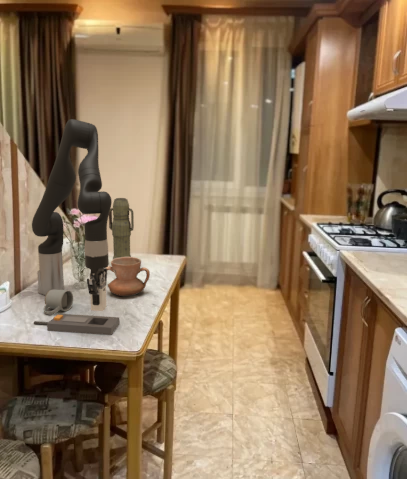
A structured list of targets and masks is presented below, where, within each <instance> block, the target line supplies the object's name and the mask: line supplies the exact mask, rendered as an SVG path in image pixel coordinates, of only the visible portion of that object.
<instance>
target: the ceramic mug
mask: <svg viewBox="0 0 407 479" xmlns="http://www.w3.org/2000/svg"><path fill="white" fill-rule="evenodd" d="M44 296H45V297H44V304H45V305H44V307H43V313H44V314H45V315H48V316H52V315H55V314H58V312H59V311H62V312H67V311H69V310H70V309H71V308H72V306H73V303H74V296H73V292H72V291H71V290H69V289H64V290H50V291H48V292H47V294H46V295H44ZM47 309H50V310H51V311H47Z"/></svg>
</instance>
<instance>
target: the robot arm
mask: <svg viewBox="0 0 407 479" xmlns="http://www.w3.org/2000/svg"><path fill="white" fill-rule="evenodd" d="M61 136H62V137H61V140H60V144H59V148H58V151H57V155H56V158H55V161H54V163H53V164H54V165H53V166H52V169H51V172H50V174H49V178H48V179H47V180H48V181H47V184H46V186H45V189H44V190H45V191H44V192H43V196H42V197H41V201H40V203H39V205H38V206H37V209H36V210H35V213H34V215H33V218H32V221H31V230H32V232H33V234H34V235H35V236H36V237H40V238H41V237H42V238H43V237H44V238H45V237H47V238H46V239H45V240H44V241H43V242H41V243H40V244H38V246H37V249H38V251H37V252H38V268H39V270H37V272H36V274H37V286H38V288H37V289H38V294H39V295H40V294H41V295H43V296H46V294H47V292H48V291H50V290H65V282H64V263H63V262H64V260H63V245H64V221H63V220H64V219H63V217H62V215H61V214H60V213H59V212H57V211H56V210H57V208H58V207H59V206H60V205H62V203H63V202H64V201H66V200H67V199H68V197H69V196H70V195H71V193H72V192H73V189H74V186H75V183H76V179H77V175H76V170H75V168H74V165H73V162H72V158H71V149H72V147H75V148H80V149H85V150H86V151H87V153H86V155H85V156H84V157H83V159H82V160H81V162H80V163H79V165H78V170H77V172H78V180H79V181H78V182H79V195H78V198H77V208H78V211H79V212H80V213H81V214H84V215H95V214H96V215H97V214H99V215H98V217H97V218H95V219H93V220H89V221H87V222H85V224H84V264H85V268H86V269H89V271H90V273H89V278H87V279H86V285H87V288H88V294H89V295H90V294H92V301H93V305H99V304H100V298H99V291H100V290H99V288H100V287H101V282H105V281H106V283H107V278H108V270H107V268H106V267H108V266H110V265H109V263H110V262H109V243H108V233H107V232H108V230H107V228H108V222H109V212H110V209H111V208H112V204H113V203H112V202H113V201H112V197H111V195H110V194H109V193H108V192H107V191H103V190H102V191H101V189H102V187H103V181H102V176H101V173H100V172H101V171H100V167H99V166H100V164H99V132H98V128H97V127H96V125H95V124H93V123H89V122H86V121H82V120H79V119H74V118H73V119H72V118H71V119H68V120H67V122H66V124H65V126H64V129H63V133H62V134H61ZM96 284H98V285H96Z"/></svg>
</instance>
